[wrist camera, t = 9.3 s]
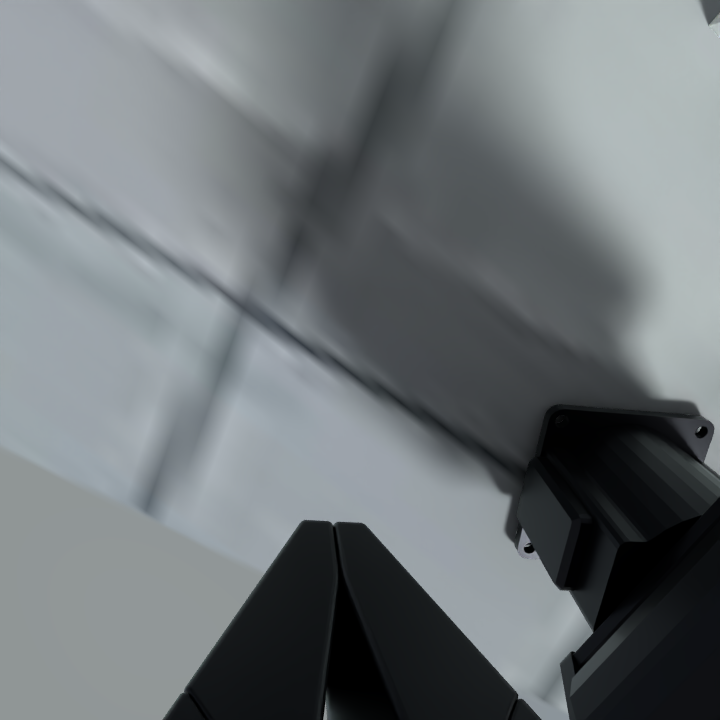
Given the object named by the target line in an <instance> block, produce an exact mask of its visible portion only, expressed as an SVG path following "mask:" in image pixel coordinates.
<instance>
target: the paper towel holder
mask: <svg viewBox="0 0 720 720" xmlns="http://www.w3.org/2000/svg"><path fill="white" fill-rule="evenodd" d="M709 27H710V28H711V29H712V30H713V31H714V32H715V34H716V35H717V36H718V37H719V38H720V13H719V14H718V15H717V16H716V18H715V19H714V20H713V21H712V22H711V23H710V25H709Z"/></svg>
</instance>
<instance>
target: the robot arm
mask: <svg viewBox="0 0 720 720" xmlns="http://www.w3.org/2000/svg"><path fill="white" fill-rule="evenodd" d="M561 415H564V419H563V421H561V422H560V423H555V420H556V418H557V417H559V416H561ZM700 426H701V429H700V431H699V432H697V433H695V431H696V429H697V428H699V427H700ZM713 434H714V426H713V424H712V423H711V422H710V421H709V420H707V419H706V418H704V417H702V416H698V415H685V414H673V413H660V412H647V411H635V410H622V409H610V408H597V407H584V406H572V405H555V406H553V407H551V408H550V409H549V410H548V411H547V412H546V414H545V417H544V421H543V425H542V429H541V433H540V438H539V442H538V446H537V450H536V454H535V456H534V457H533V458H532V459H531V460H530V461H529V464H528V468H527V472H526V476H525V480H524V485H523V489H522V493H521V497H520V502H519V506H518V510H517V515H516V516H517V519H518V520H519V525H518V529H517V533H516V538H515V547H516V549H517V551H518V553H519V555H520V556H521V557H523V558H527V559H540V560H541V561H542V563H543V565H544V567H545V568H546V570H547V572H548V574H549V576H550V577H551V579H552V581H553V583H554V584H555V585H556V586H557V587H558V589H559V590H566V591H569V592H570V593H571V595H572V597H573V599H574V600H575V602H576V604H577V605H578V607H579V609H580V610H581V612H582V614H583V616H584V617H585V619H586V621H587V622H588V624H589V626H590V627H591V629H592V631H593V634H592V635H591V636H590V637H589V638H588V639H587V640H586V641H585V643H584V644H583V645H582V646H581V647H580V648H579V649H578V650H577V651H576V652H573V651H572V652H570V653H569V654H568V655H567V657H566V658H565V659H564V660H563V661H562V662H561V663H560V667H561V673H562V678H563V684H564V690H565V696H566V701H567V707H568V713H569V719H570V720H720V476H719V475H718V474H717V473H716V472H715V471H713V470H712V469H711V468H710V467H708V466H707V465H706V464H705V463H704V460H705V457H706V454H707V451H708V448H709V445H710V443H711V440H712V437H713ZM528 543H531V544H532V545H530V546H529V547H525V545H526V544H528ZM325 701H326V709H327V720H541V719H540V717H539V716H538V715H537V714H536V713H535V712H534V711H533V710H532V709H531V708H530V706H529V705H528V704H527V703H526V702H525V701H524V700H523V699H518V694H517V692H516V691H515V690H514V689H513V688H512V687H511V686H510V685H509V683H508V682H507V681H506V680H505V679H504V678H503V677H502V676H501V675H500V673H499V672H498V671H497V670H496V669H495V668H494V667H493V666H492V665H491V664H490V662H489V661H488V660H487V659H486V658H485V657H484V656H483V655H482V654H481V652H480V651H479V650H478V649H477V648H476V647H475V646H474V645H473V644H472V642H471V641H470V640H469V639H468V638H467V637H466V636H465V635H464V634H463V632H462V631H461V630H460V629H459V628H458V627H457V626H456V625H455V624H454V622H453V621H452V620H451V619H450V618H449V617H448V616H447V615H446V614H445V612H444V611H443V610H442V609H441V608H440V607H439V606H438V605H437V604H436V603H435V601H434V600H433V599H432V598H431V597H430V596H429V595H428V594H427V593H426V591H425V590H424V589H423V588H422V587H421V586H420V585H419V584H418V583H417V581H416V580H415V579H414V578H413V577H412V576H411V575H410V574H409V573H408V571H407V570H406V569H405V568H404V567H403V566H402V565H401V564H400V563H399V561H398V560H397V559H396V558H395V557H394V556H393V555H392V554H391V553H390V551H389V550H388V549H387V548H386V547H385V546H384V545H383V544H382V543H381V542H380V540H379V539H378V538H377V537H376V536H375V535H374V534H373V533H372V532H371V530H370V529H369V528H368V527H367V526H366V525H365V524H363V523H354V522H336V523H335V524H334V525H332V523H331V522H329V521H315V520H304V521H302V522H301V523H300V524H299V525H298V527H297V528H296V530H295V531H294V533H293V534H292V536H291V537H290V538H289V540H288V541H287V543H286V544H285V546H284V547H283V548H282V550H281V551H280V553H279V554H278V556H277V557H276V558H275V560H274V561H273V563H272V564H271V566H270V567H269V568H268V570H267V571H266V573H265V574H264V576H263V577H262V578H261V580H260V581H259V583H258V584H257V586H256V587H255V589H254V590H253V591H252V593H251V594H250V596H249V597H248V599H247V600H246V601H245V603H244V604H243V606H242V607H241V609H240V610H239V612H238V613H237V614H236V616H235V617H234V619H233V620H232V622H231V623H230V624H229V626H228V627H227V629H226V630H225V631H224V633H223V634H222V636H221V637H220V639H219V640H218V642H217V643H216V644H215V646H214V647H213V649H212V650H211V652H210V653H209V654H208V656H207V657H206V659H205V660H204V662H203V663H202V665H201V666H200V667H199V669H198V670H197V672H196V673H195V674H194V676H193V677H192V679H191V680H190V682H189V683H188V685H187V686H186V687H185V690H184V693H182V694H180V696H179V697H178V698H177V700H176V701H175V703H174V704H173V705H172V707H171V708H170V710H169V711H168V713H167V714H166V715H165V717H164V718H163V720H323V716H324V708H325Z"/></svg>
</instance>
